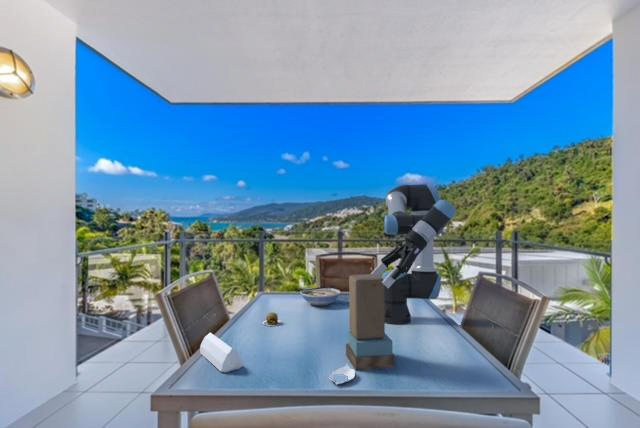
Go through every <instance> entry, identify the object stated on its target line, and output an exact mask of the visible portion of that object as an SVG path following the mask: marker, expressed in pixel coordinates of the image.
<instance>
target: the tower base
mask: <svg viewBox="0 0 640 428" xmlns="http://www.w3.org/2000/svg"><path fill="white" fill-rule="evenodd" d="M392 354H393V355H383V356H365V357H356V355H355V354H354V352H353V350H352V349H351V347H350V345H349V344H348V343H345V356H346V358H347V359H348V360H349V363H350V364H351V365H352V366H353V368H354V371H355V372H356V371H357V372H359V371H358V370H361V371H373V369H374V370H384V369H394V368H396V355H395V353H394V352H392Z"/></svg>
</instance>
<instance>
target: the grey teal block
mask: <svg viewBox="0 0 640 428" xmlns="http://www.w3.org/2000/svg"><path fill="white" fill-rule="evenodd" d="M347 338H348V339H347V340H348V343H347V344H349V345H350V347H351V349H352V350H353V352H354V354H355V355H356V357H365V356H383V355H393V354H394V353H393V340H392V339H391V338H390V337H389V336H388V335H387V334H386V333H385V336H384V338H379V339H363V340H357V339H356V338H355V337H354V335H353V334H352V332H351V331H350V330H348V337H347ZM392 353H393V354H392Z"/></svg>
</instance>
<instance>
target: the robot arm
mask: <svg viewBox="0 0 640 428" xmlns="http://www.w3.org/2000/svg"><path fill="white" fill-rule="evenodd" d="M385 205H386V207H387V209H388V214H386V215H385V216H384V233H385V234H386V235H393V236H397V235H398V236H399V235H401V236H403V235H404V240H405V243H402V242H400V243H399V244H397V245H396V247H395V248H393V249H392V250H390V251H389V252H388V253H386V254H385V255H384V256H383V257H382V258H381V259H380V261H381V262H380V263H379V265H377V266H376V268H375V269H374V270H372V272H371V273H370V274H375V275H377V276H379V277H381V278H383V282H382V283H383V284H384V318H385V324H391V325H404V324H409V323H411V321H412V317H411V312H410V309H409V307H408V299H417V300H425V299H426V300H436V299H437V298H439V296H440V291H441V285H442V280H441V278H442V277H441V274H439V273H438V270H437V268H435V267H434V240H435V238H436V237H438V236H440V235H441V234H442V232H443V231H444V229H445V227H446V226H447V225H448V223H449V222H450V221H451V220H453V217H454V216H455V215H456V214H457V210H456V208H455V206H454V205H453V204H452V203H450V202H449V201H447V200H445V199H440V194H439V190H438V188H437V186H436V185H434V184H427V183H426V184H425V183H424V184H422V183H421V184H401V185H397V186H396V187H393V188H391V190H390V191H389V192H388V193H387V194H386V197H385ZM407 210H410V214H408V211H407ZM399 259H400V260H399ZM398 260H399V262H398V264H397V265H396V266H395V267H394V269H392V270H388V271H386V270H387V269H389V267H390V265H391V264H394V263H395V262H396V261H398ZM413 265H414V266H413ZM412 266H413V267H412ZM411 267H412V268H411ZM410 269H411V270H410ZM409 271H411V273H409ZM381 275H382V276H381Z"/></svg>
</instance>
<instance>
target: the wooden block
mask: <svg viewBox="0 0 640 428" xmlns="http://www.w3.org/2000/svg"><path fill="white" fill-rule="evenodd" d="M348 282H349V283H348V290H349V296H348V297H349V305H348V306H349V331H351V332H352V334H353V335H354V337H355V338H356V339H357V340H363V339H379V338H384V336H385V334H386V332H385V331H386V330H385V329H386V327H385V325H386V323H385V318H384V284H383V283H382V282H383V278H382V276H377V275H375V274H371V273H370V274H368V273H365V274H364V273H363V274H350V275H349V277H348Z"/></svg>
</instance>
